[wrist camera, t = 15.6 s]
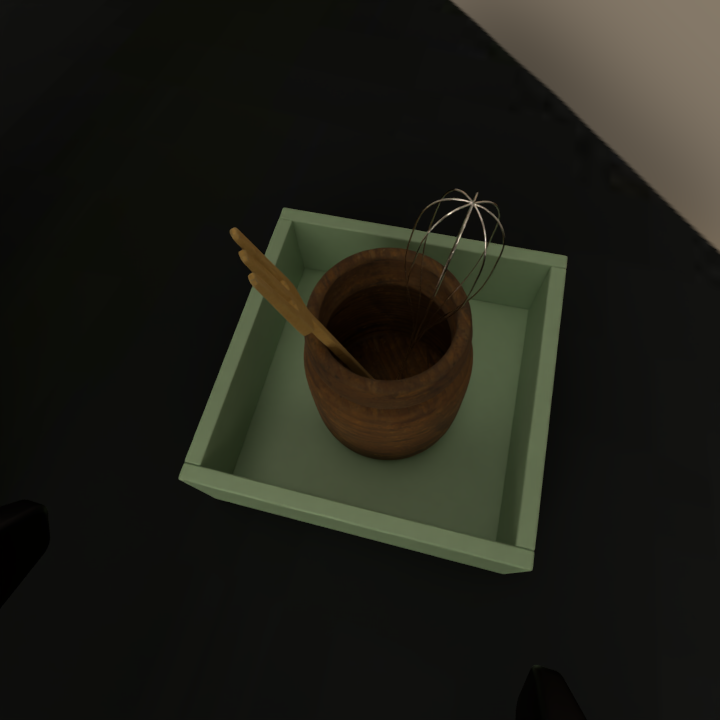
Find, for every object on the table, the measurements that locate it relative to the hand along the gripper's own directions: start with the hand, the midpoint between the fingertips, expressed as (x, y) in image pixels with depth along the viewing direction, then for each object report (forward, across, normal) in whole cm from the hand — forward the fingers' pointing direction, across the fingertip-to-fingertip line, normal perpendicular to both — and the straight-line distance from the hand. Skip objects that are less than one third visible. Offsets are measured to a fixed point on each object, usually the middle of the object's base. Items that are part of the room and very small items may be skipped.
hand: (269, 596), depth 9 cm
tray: (+14, 0, +2) cm, 14 cm away
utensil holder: (+13, 0, +2) cm, 13 cm away
